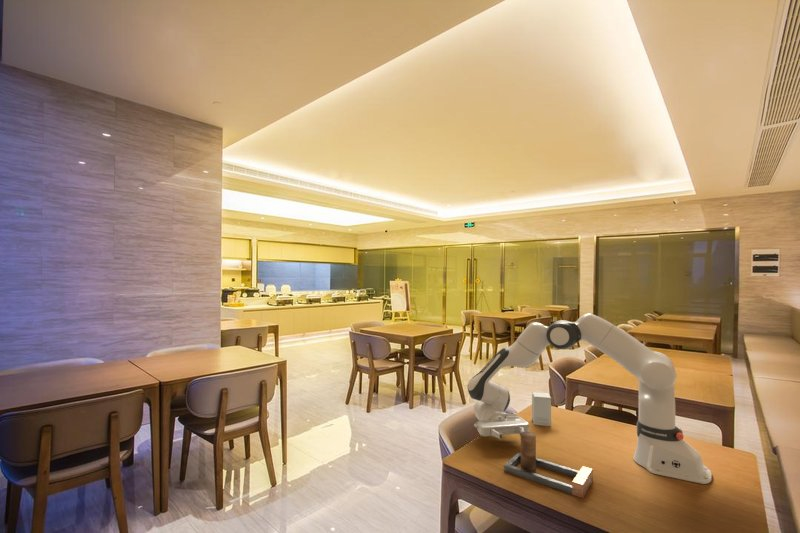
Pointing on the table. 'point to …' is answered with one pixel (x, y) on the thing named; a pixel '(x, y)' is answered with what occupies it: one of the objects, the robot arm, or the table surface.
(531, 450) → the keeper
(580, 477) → the guide track
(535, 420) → the supplement box
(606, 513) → the table surface
